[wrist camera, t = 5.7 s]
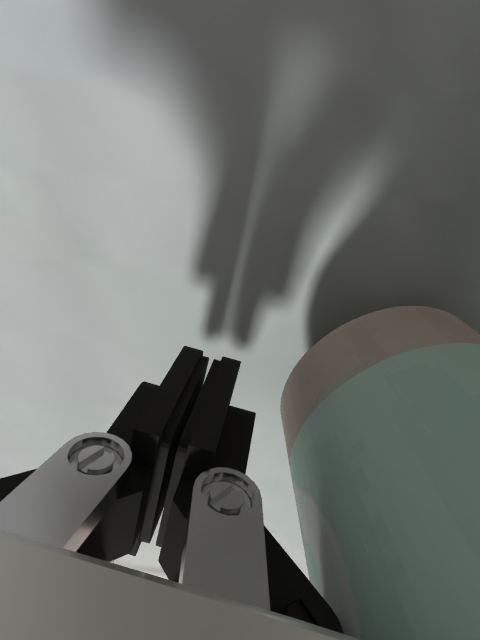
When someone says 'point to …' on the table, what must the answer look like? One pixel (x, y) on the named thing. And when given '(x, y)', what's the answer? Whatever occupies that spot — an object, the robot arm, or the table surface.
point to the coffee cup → (391, 473)
